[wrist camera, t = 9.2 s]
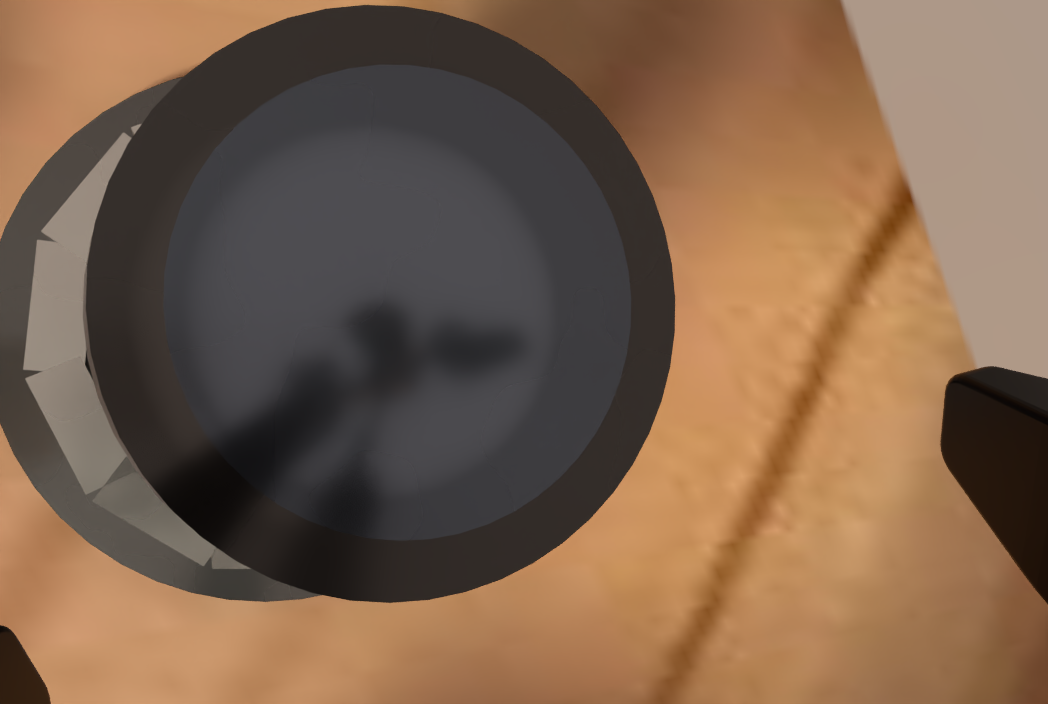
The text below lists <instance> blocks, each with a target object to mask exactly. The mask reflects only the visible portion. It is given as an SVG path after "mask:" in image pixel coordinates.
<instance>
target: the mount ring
mask: <svg viewBox="0 0 1048 704" xmlns="http://www.w3.org/2000/svg"><path fill="white" fill-rule="evenodd" d="M182 78H183V77H181V78H177V79H173V80H170V81H167V82H165V83H162V84H160V85H157V86H155V87H152V88H149V89H147V90H144V91H142V92H139V93H137V94H135V95H133V96H131V97H130V98H128V99H126V100H124V101H122V102H121V103H119V104H117V105H115V106H114V107H112V108H110V109H108V110H106V111H105V112H103V113H102V114H100V115H99V116H98V117H96V118H95V119H94V120H92V121H91V122H90V123H89V124H87V125H86V126H85V127H83V128H82V129H81V130H79V131H78V132H77V133H75V134H74V135H73V136H72V137H71V138H70V139H69V140H68V141H67V142H66V143H65V144H64V145H63V146H62V147H61V148H60V149H59V150H58V151H57V152H56V153H55V154H54V155H53V156H52V157H51V158H50V159H49V160H48V161H47V162H46V163H45V165H44V166H43V167H42V169H41V170H40V171H39V173H38V174H37V176H36V177H35V178H34V180H33V181H32V182H31V184H30V185H29V186H28V188H27V189H26V191H25V192H24V193H23V195H22V197H21V199H20V200H19V202H18V204H17V206H16V208H15V210H14V212H13V214H12V216H11V218H10V219H9V221H8V223H7V225H6V227H5V229H4V232H3V235H2V238H1V241H0V424H1V426H2V428H3V431H4V433H5V435H6V438H7V440H8V442H9V444H10V447H11V449H12V451H13V453H14V455H15V457H16V459H17V460H18V462H19V463H20V465H21V466H22V468H23V470H24V471H25V473H26V474H27V476H28V478H29V479H30V481H31V482H32V484H33V486H34V487H35V488H36V490H37V491H38V492H39V493H40V494H41V495H42V497H43V498H44V499H45V500H46V501H47V503H48V504H49V505H50V506H51V507H52V508H53V510H54V511H55V512H56V513H57V514H58V515H59V517H60V518H61V519H63V520H64V521H65V522H66V523H67V524H68V525H69V526H71V527H72V528H73V529H74V530H75V531H76V532H77V533H78V534H80V535H81V536H82V537H83V538H84V539H85V540H86V541H87V542H89V543H90V544H91V545H93V546H94V547H96V548H97V549H99V550H100V551H102V552H104V553H105V554H107V555H108V556H110V557H111V558H113V559H114V560H116V561H117V562H119V563H120V564H122V565H124V566H126V567H128V568H130V569H132V570H134V571H136V572H138V573H140V574H142V575H145V576H147V577H149V578H151V579H153V580H155V581H157V582H161V583H164V584H167V585H170V586H173V587H176V588H179V589H182V590H185V591H188V592H191V593H196V594H201V595H207V596H212V597H217V598H223V599H228V600H245V601H263V602H268V601H282V600H296V599H304V598H309V597H314V596H319V595H320V594H315V593H311V592H308V591H305V590H302V589H299V588H296V587H293V586H290V585H287V584H284V583H281V582H278V581H276V580H273V579H271V578H269V577H267V576H265V575H263V574H261V573H259V572H257V571H255V570H253V569H251V568H249V567H247V566H245V565H243V564H241V563H239V562H237V561H235V560H234V559H232V558H231V557H229V556H228V555H226V554H225V553H224V552H222V551H221V550H219V549H218V548H216V547H215V546H213V545H212V544H211V543H209V542H208V541H206V540H205V539H203V538H202V537H201V536H200V535H198V534H197V533H196V532H195V531H194V530H193V529H192V528H191V527H189V526H188V525H187V524H186V523H185V522H184V521H183V520H182V519H180V518H179V517H178V516H177V515H176V514H175V513H174V512H173V511H172V510H171V509H170V508H168V507H167V506H166V505H165V504H164V503H163V502H162V501H161V500H160V499H159V498H158V497H157V495H156V494H155V493H154V492H153V491H152V489H151V488H150V487H149V486H148V484H147V483H146V482H145V481H144V480H143V478H142V477H141V476H140V475H139V473H138V472H137V471H136V470H135V469H134V467H133V465H132V464H131V462H130V460H129V459H128V457H127V455H126V454H125V452H124V450H123V449H122V447H121V445H120V444H119V442H118V441H117V439H116V437H115V436H114V434H113V431H112V429H111V427H110V424H109V422H108V420H107V417H106V415H105V413H104V410H103V408H102V406H101V403H100V401H99V399H98V396H97V392H96V388H95V385H94V381H93V377H92V373H91V369H90V366H89V362H88V358H87V350H86V341H85V332H84V324H83V295H84V274H85V269H86V263H87V258H88V252H89V247H90V241H91V236H92V233H93V230H94V224H95V220H96V217H97V214H98V211H99V208H100V206H101V203H102V200H103V197H104V194H105V191H106V188H107V185H108V182H109V180H110V178H111V176H112V174H113V172H114V170H115V168H116V166H117V164H118V162H119V160H120V158H121V156H122V154H123V152H124V150H125V148H126V146H127V144H128V143H129V141H130V140H131V138H132V137H133V136H134V134H135V133H136V131H137V130H138V129H139V127H140V126H141V124H142V123H143V122H144V120H145V119H146V117H147V116H148V115H149V113H150V112H151V110H152V109H153V108H154V107H155V106H156V105H157V104H158V103H159V102H160V100H161V99H162V98H163V97H164V96H165V95H166V94H167V93H168V92H169V91H170V90H171V89H172V88H173V87H174V86H175V85H176V84H177V83H178V82H179V81H180V80H181V79H182Z"/></svg>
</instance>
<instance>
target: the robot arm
mask: <svg viewBox="0 0 1048 704" xmlns="http://www.w3.org/2000/svg"><path fill="white" fill-rule="evenodd" d="M941 452H942V456H943V459H944V461H945V463H946V465H947V467H948V469H949V471H950V472H951V473H952V475H953V476H954V478H955V479H956V480H957V482H958V483H959V485H960V486H961V487H962V489H963V490H964V492H965V493H966V494H967V496H968V497H969V499H970V500H971V501H972V503H973V504H974V506H975V507H976V508H977V510H978V511H979V513H980V514H981V515H982V517H983V518H984V520H985V521H986V522H987V524H988V525H989V527H990V528H991V529H992V531H993V532H994V534H995V535H996V536H997V538H998V539H999V541H1000V542H1001V543H1002V545H1003V546H1004V548H1005V549H1006V550H1007V552H1008V553H1009V555H1010V556H1011V557H1012V559H1013V560H1014V562H1015V563H1016V564H1017V566H1018V567H1019V569H1020V570H1021V571H1022V572H1023V574H1024V575H1025V576H1026V578H1027V579H1028V580H1029V582H1030V583H1031V584H1032V586H1033V587H1034V588H1035V590H1036V591H1037V592H1038V593H1039V594H1040V596H1041V597H1042V598H1043V599H1044V600H1045V602H1046V603H1047V604H1048V379H1046V378H1042V377H1037V376H1034V375H1029V374H1025V373H1021V372H1016V371H1012V370H1008V369H1004V368H999V367H994V366H990V367H983V368H979V369H975V370H971V371H968V372H964V373H960V374H957V375H955V376H953V377H952V378H951V379H950V380H949V382H948V384H947V385H946V390H945V399H944V410H943V421H942V431H941ZM0 704H51V702H50V697H49V693H48V690H47V687H46V685H45V683H44V682H43V680H42V678H41V677H40V675H39V673H38V672H37V670H36V668H35V667H34V665H33V663H32V662H31V660H30V658H29V657H28V655H27V654H26V652H25V650H24V649H23V647H22V645H21V644H20V642H19V640H18V639H17V637H16V636H15V634H14V633H13V632H12V631H11V630H10V629H9V628H7V627H5V626H1V625H0Z"/></svg>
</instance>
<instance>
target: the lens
mask: <svg viewBox="0 0 1048 704" xmlns="http://www.w3.org/2000/svg"><path fill="white" fill-rule="evenodd" d="M83 324H84V332H85V341H86V350H87V358H88V362H89V366H90V369H91V373H92V377H93V381H94V385H95V388H96V392H97V396H98V399H99V401H100V403H101V406H102V408H103V410H104V413H105V415H106V417H107V420H108V422H109V424H110V427H111V429H112V431H113V434H114V436H115V437H116V439H117V441H118V442H119V444H120V445H121V447H122V449H123V450H124V452H125V454H126V455H127V457H128V459H129V460H130V462H131V464H132V465H133V467H134V469H135V470H136V471H137V472H138V473H139V475H140V476H141V477H142V478H143V480H144V481H145V482H146V483H147V484H148V486H149V487H150V488H151V489H152V491H153V492H154V493H155V494H156V495H157V497H158V498H159V499H160V500H161V501H162V502H163V503H164V504H165V505H166V506H167V507H168V508H170V509H171V510H172V511H173V512H174V513H175V514H176V515H177V516H178V517H179V518H180V519H182V520H183V521H184V522H185V523H186V524H187V525H188V526H189V527H191V528H192V529H193V530H194V531H195V532H196V533H197V534H198V535H200V536H201V537H202V538H203V539H205V540H206V541H208V542H209V543H211V544H212V545H213V546H215V547H216V548H218V549H219V550H221V551H222V552H224V553H225V554H226V555H228V556H229V557H231V558H232V559H234V560H235V561H237V562H239V563H241V564H243V565H245V566H247V567H249V568H251V569H253V570H255V571H257V572H259V573H261V574H263V575H265V576H267V577H269V578H271V579H273V580H276V581H278V582H281V583H284V584H287V585H290V586H293V587H296V588H299V589H302V590H305V591H308V592H311V593H315V594H320V595H325V596H331V597H336V598H341V599H346V600H352V601H369V602H386V603H392V602H406V601H419V600H430V599H434V598H439V597H444V596H449V595H453V594H458V593H463V592H467V591H469V590H472V589H475V588H478V587H481V586H484V585H486V584H489V583H492V582H495V581H498V580H500V579H502V578H504V577H506V576H508V575H510V574H512V573H514V572H516V571H518V570H520V569H522V568H524V567H526V566H528V565H530V564H532V563H534V562H535V561H537V560H538V559H540V558H541V557H543V556H544V555H546V554H547V553H549V552H550V551H552V550H553V549H554V548H556V547H557V546H559V545H560V544H562V543H563V542H564V541H565V540H567V539H568V538H569V537H570V536H571V535H572V534H573V533H575V532H576V531H577V530H578V529H579V528H580V527H581V526H583V525H584V524H585V523H586V522H587V521H588V520H589V519H590V518H591V517H592V516H593V515H594V514H595V513H596V511H597V510H598V509H599V508H600V507H601V506H602V505H603V504H604V502H605V501H606V500H607V499H608V498H609V497H610V496H611V495H612V493H613V492H614V491H615V489H616V488H617V486H618V485H619V483H620V482H621V481H622V479H623V478H624V476H625V475H626V473H627V472H628V470H629V469H630V468H631V466H632V465H633V463H634V461H635V459H636V457H637V455H638V453H639V451H640V450H641V448H642V446H643V444H644V442H645V440H646V438H647V436H648V434H649V432H650V430H651V427H652V424H653V422H654V419H655V416H656V414H657V411H658V409H659V406H660V403H661V401H662V397H663V393H664V389H665V385H666V381H667V377H668V373H669V369H670V363H671V355H672V348H673V340H674V331H675V293H674V283H673V273H672V263H671V259H670V254H669V249H668V245H667V240H666V235H665V231H664V227H663V224H662V221H661V218H660V215H659V213H658V210H657V207H656V204H655V201H654V198H653V195H652V193H651V191H650V189H649V187H648V185H647V182H646V180H645V178H644V176H643V174H642V172H641V170H640V168H639V165H638V164H637V162H636V160H635V159H634V157H633V156H632V154H631V152H630V151H629V149H628V147H627V146H626V144H625V143H624V141H623V139H622V138H621V136H620V135H619V133H618V132H617V131H616V129H615V128H614V127H613V126H612V124H611V123H610V122H609V121H608V119H607V118H606V117H605V116H604V114H603V113H602V112H601V111H600V109H599V108H598V107H597V106H596V105H595V104H594V103H593V102H592V101H591V100H590V99H589V98H588V97H587V96H586V95H585V94H584V93H583V92H582V91H581V90H580V89H579V88H578V87H577V86H576V85H575V84H574V83H573V82H572V81H571V80H570V79H569V78H567V77H566V76H565V75H563V74H562V73H561V72H560V71H558V70H557V69H556V68H555V67H553V66H552V65H551V64H549V63H548V62H547V61H546V60H544V59H543V58H542V57H540V56H538V55H537V54H535V53H533V52H532V51H530V50H528V49H527V48H525V47H523V46H522V45H520V44H518V43H517V42H515V41H513V40H512V39H510V38H508V37H505V36H503V35H501V34H499V33H496V32H494V31H492V30H490V29H487V28H485V27H483V26H481V25H479V24H476V23H473V22H469V21H466V20H463V19H459V18H456V17H453V16H450V15H446V14H443V13H439V12H433V11H427V10H421V9H415V8H409V7H402V6H375V5H361V6H351V7H341V8H330V9H324V10H319V11H315V12H311V13H307V14H303V15H298V16H294V17H290V18H287V19H284V20H281V21H279V22H276V23H274V24H271V25H269V26H266V27H264V28H261V29H258V30H256V31H253V32H251V33H249V34H247V35H245V36H244V37H242V38H240V39H238V40H236V41H235V42H233V43H231V44H229V45H228V46H226V47H224V48H222V49H221V50H219V51H217V52H215V53H214V54H213V55H211V56H210V57H209V58H207V59H206V60H205V61H203V62H202V63H201V64H200V65H198V66H197V67H196V68H194V69H193V70H192V71H191V72H189V73H188V74H187V75H185V76H184V77H183V78H182V79H181V80H180V81H179V82H178V83H177V84H176V85H175V86H174V87H173V88H172V89H171V90H170V91H169V92H168V93H167V94H166V95H165V96H164V97H163V98H162V99H161V100H160V102H159V103H158V104H157V105H156V106H155V107H154V108H153V109H152V110H151V112H150V113H149V115H148V116H147V117H146V119H145V120H144V122H143V123H142V124H141V126H140V127H139V129H138V130H137V131H136V133H135V134H134V136H133V137H132V138H131V140H130V141H129V143H128V144H127V146H126V148H125V150H124V152H123V154H122V156H121V158H120V160H119V162H118V164H117V166H116V168H115V170H114V172H113V174H112V176H111V178H110V180H109V182H108V185H107V188H106V191H105V194H104V197H103V200H102V203H101V206H100V208H99V211H98V214H97V217H96V220H95V224H94V230H93V233H92V236H91V241H90V247H89V252H88V258H87V263H86V269H85V274H84V295H83Z"/></svg>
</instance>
